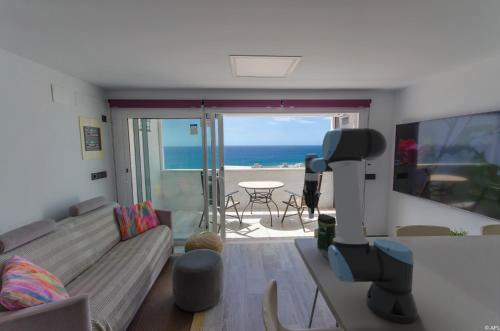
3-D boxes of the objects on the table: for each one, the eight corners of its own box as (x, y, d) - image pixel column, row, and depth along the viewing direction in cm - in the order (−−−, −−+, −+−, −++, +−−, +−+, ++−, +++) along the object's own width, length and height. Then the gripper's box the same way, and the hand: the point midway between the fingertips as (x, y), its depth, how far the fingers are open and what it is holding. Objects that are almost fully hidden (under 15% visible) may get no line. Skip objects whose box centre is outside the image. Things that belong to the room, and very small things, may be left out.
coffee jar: (338, 248, 125) (338, 216, 124) (328, 252, 121) (329, 218, 120) (324, 242, 134) (324, 211, 132) (314, 245, 129) (315, 214, 128)
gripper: (324, 180, 131) (323, 220, 133) (308, 177, 142) (308, 214, 144) (314, 181, 127) (314, 222, 129) (299, 178, 139) (299, 216, 141)
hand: (311, 218), depth 137 cm, fingers closed
